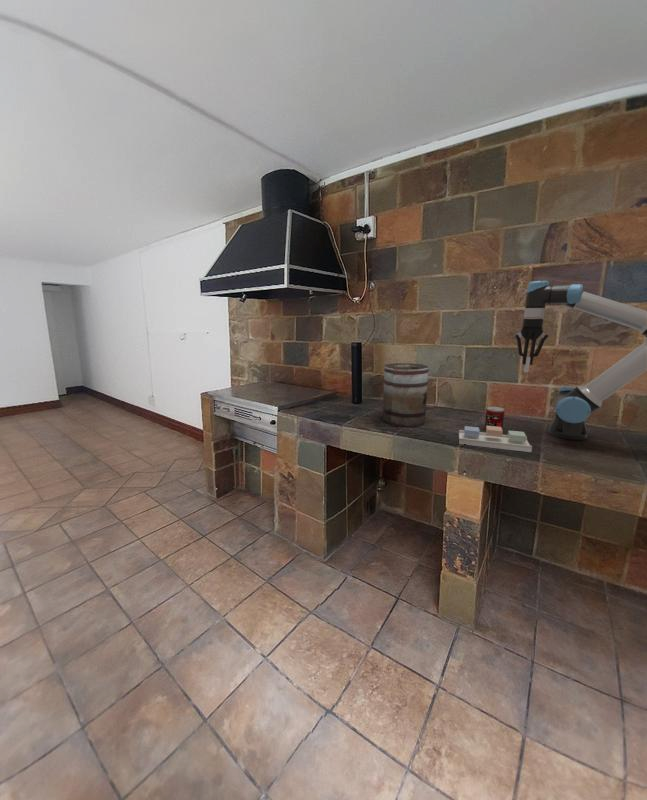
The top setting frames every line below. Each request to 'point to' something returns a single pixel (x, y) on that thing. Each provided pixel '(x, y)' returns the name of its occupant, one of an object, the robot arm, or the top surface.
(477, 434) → the key
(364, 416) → the top surface
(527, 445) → the keypad base
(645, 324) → the robot arm
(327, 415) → the top surface
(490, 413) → the canned food
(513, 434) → the key
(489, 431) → the key
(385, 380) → the barrel
